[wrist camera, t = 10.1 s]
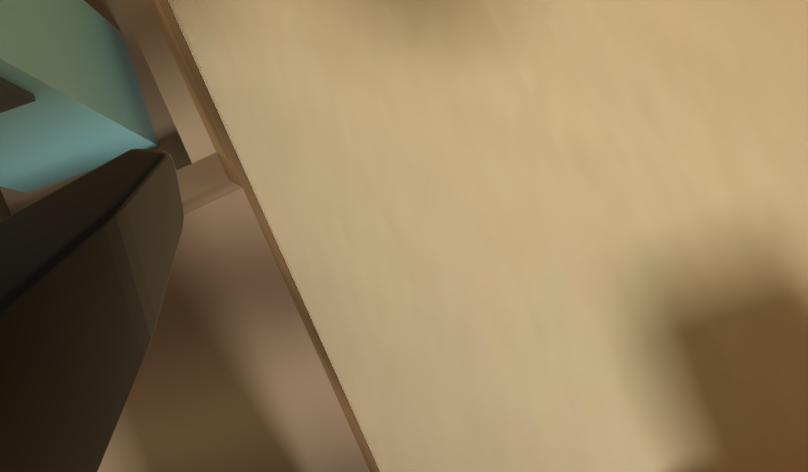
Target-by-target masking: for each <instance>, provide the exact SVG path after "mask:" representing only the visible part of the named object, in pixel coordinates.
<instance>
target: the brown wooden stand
mask: <svg viewBox="0 0 808 472" xmlns="http://www.w3.org/2000/svg"><path fill="white" fill-rule="evenodd" d="M84 1H85V2H87V3H88V4H89V5H90V6H91V7H92V8H94V9H95V10H96V11H97V12H98V13H99V14H101V15H102V16H103V17H104V18H105V19H106V20H108V21H109V22H110V23H111V24H112V25H113V26H115V27H116V28H117V29H118V30H119V31H120V32H121V33H123V37H124V40H125V43H126V46H127V49H128V52H129V55H130V58H131V61H132V64H133V67H134V70H135V73H136V76H137V79H138V83H139V86H140V89H141V92H142V95H143V98H144V101H145V104H146V107H147V110H148V113H149V116H150V119H151V122H152V126H153V129H154V132H155V135H156V138H157V141H158V144H159V147H156V148H153V149H150V150H160V151H166V152H167V153H169V154H170V155H171V157H172V159H173V161H174V164H175V168H176V173H177V178H178V184H179V189H180V194H181V199H182V204H183V209H184V223H183V229H182V233H181V237H180V240H179V244H178V248H177V251H176V255H175V258H174V262H173V266H172V269H171V273H170V276H169V280H168V284H167V287H166V291H165V295H164V298H163V302H162V305H161V309H160V313H159V316H158V320H157V323H156V327H155V330H154V333H153V336H152V340H151V342H150V345H149V348H148V350H147V353H146V356H145V358H144V361H143V363H142V366H141V368H140V370H139V373H138V375H137V378H136V380H135V382H134V385H133V387H132V390H131V392H130V394H129V397H128V399H127V402H126V404H125V406H124V409H123V411H122V414H121V416H120V418H119V421H118V423H117V426H116V428H115V430H114V433H113V435H112V438H111V440H110V442H109V445H108V447H107V450H106V452H105V454H104V457H103V459H102V462H101V464H100V467H99V469H98V471H97V472H379V470H378V467H377V465H376V463H375V461H374V458H373V456H372V454H371V452H370V450H369V447H368V445H367V443H366V441H365V438H364V436H363V434H362V432H361V430H360V427H359V425H358V423H357V421H356V418H355V416H354V414H353V412H352V410H351V407H350V405H349V403H348V401H347V398H346V396H345V394H344V392H343V390H342V387H341V385H340V383H339V381H338V379H337V376H336V374H335V372H334V370H333V367H332V365H331V363H330V361H329V359H328V356H327V354H326V352H325V350H324V347H323V345H322V343H321V341H320V339H319V336H318V334H317V332H316V330H315V327H314V325H313V323H312V321H311V319H310V316H309V314H308V312H307V310H306V307H305V305H304V303H303V301H302V299H301V296H300V294H299V292H298V290H297V287H296V285H295V283H294V281H293V279H292V276H291V274H290V272H289V270H288V267H287V265H286V263H285V261H284V259H283V256H282V254H281V252H280V250H279V247H278V245H277V243H276V241H275V239H274V236H273V234H272V232H271V230H270V227H269V225H268V223H267V221H266V219H265V216H264V214H263V212H262V210H261V207H260V205H259V203H258V201H257V199H256V196H255V194H254V192H253V190H252V187H251V185H250V183H249V181H248V179H247V176H246V174H245V172H244V170H243V167H242V165H241V163H240V161H239V159H238V156H237V154H236V152H235V150H234V147H233V145H232V143H231V141H230V139H229V136H228V134H227V132H226V130H225V127H224V125H223V123H222V121H221V119H220V116H219V114H218V112H217V110H216V107H215V105H214V103H213V101H212V99H211V96H210V94H209V92H208V90H207V88H206V85H205V83H204V81H203V79H202V76H201V74H200V72H199V70H198V68H197V65H196V63H195V61H194V59H193V56H192V54H191V52H190V50H189V48H188V45H187V43H186V41H185V39H184V36H183V34H182V32H181V30H180V28H179V25H178V23H177V21H176V19H175V16H174V14H173V12H172V10H171V8H170V5H169V3H168V1H167V0H84ZM93 170H94V169H93ZM90 171H92V170H90ZM90 171H87V172H84V173H82V174H79V175H76V176H73V177H70V178H67V179H64V180H62V181H59V182H56V183H53V184H50V185H47V186H44V187H42V188H39V189H36V190H33V191H30V192H27V193H25V192H21V191H17V190H13V189H9V188H5V187H1V186H0V221H1V220H3V219H5V218H7V217H8V216H10V215H12V214H14V213H16V212H17V211H19V210H21V209H23V208H25V207H27V206H28V205H30V204H32V203H34V202H36V201H37V200H39V199H41V198H43V197H45V196H47V195H48V194H50V193H52V192H54V191H56V190H57V189H59V188H61V187H63V186H65V185H67V184H68V183H70V182H72V181H74V180H76V179H77V178H79V177H81V176H83V175H85V174H87V173H88V172H90Z"/></svg>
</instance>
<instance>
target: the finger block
mask: <svg viewBox="0 0 808 472" xmlns="http://www.w3.org/2000/svg"><path fill="white" fill-rule="evenodd" d="M156 147H159V144H158V141H157V138H156V135H155V132H154V129H153V126H152V122H151V119H150V116H149V113H148V110H147V107H146V104H145V101H144V98H143V95H142V92H141V89H140V86H139V83H138V79H137V76H136V73H135V70H134V67H133V64H132V61H131V58H130V55H129V52H128V49H127V46H126V43H125V40H124V37H123V33H121V32H120V31H119V30H118V29H117V28H116V27H115V26H113V25H112V24H111V23H110V22H109V21H108V20H106V19H105V18H104V17H103V16H102V15H101V14H99V13H98V12H97V11H96V10H95V9H94V8H92V7H91V6H90V5H89V4H88V3H87V2H85V1H84V0H0V186H1V187H5V188H9V189H13V190H17V191H21V192H25V193H27V192H30V191H33V190H36V189H39V188H42V187H44V186H47V185H50V184H53V183H56V182H59V181H62V180H64V179H67V178H70V177H73V176H76V175H79V174H82V173H84V172H87V171H90V170H93V169H96V168H97V167H99V166H101V165H103V164H105V163H107V162H108V161H110V160H112V159H114V158H116V157H117V156H119V155H121V154H123V153H125V152H127V151H129V150H131V149H149V150H150V149H153V148H156Z"/></svg>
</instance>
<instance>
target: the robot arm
mask: <svg viewBox="0 0 808 472" xmlns="http://www.w3.org/2000/svg"><path fill="white" fill-rule="evenodd" d="M183 223H184V209H183V204H182V199H181V194H180V189H179V184H178V178H177V173H176V168H175V164H174V161H173V159H172V157H171V155H170V154H169V153H167V152H166V151H160V150H149V149H131V150H129V151H127V152H125V153H123V154H121V155H119V156H117V157H116V158H114V159H112V160H110V161H108V162H107V163H105V164H103V165H101V166H99V167H97V168H96V169H94V170H92V171H90V172H88V173H87V174H85V175H83V176H81V177H79V178H77V179H76V180H74V181H72V182H70V183H68V184H67V185H65V186H63V187H61V188H59V189H57V190H56V191H54V192H52V193H50V194H48V195H47V196H45V197H43V198H41V199H39V200H37V201H36V202H34V203H32V204H30V205H28V206H27V207H25V208H23V209H21V210H19V211H17V212H16V213H14V214H12V215H10V216H8V217H7V218H5V219H3V220H1V221H0V472H97V471H98V469H99V467H100V464H101V462H102V459H103V457H104V454H105V452H106V450H107V447H108V445H109V442H110V440H111V438H112V435H113V433H114V430H115V428H116V426H117V423H118V421H119V418H120V416H121V414H122V411H123V409H124V406H125V404H126V402H127V399H128V397H129V394H130V392H131V390H132V387H133V385H134V382H135V380H136V378H137V375H138V373H139V370H140V368H141V366H142V363H143V361H144V358H145V356H146V353H147V350H148V348H149V345H150V342H151V340H152V336H153V333H154V330H155V327H156V323H157V320H158V316H159V313H160V309H161V305H162V302H163V298H164V295H165V291H166V287H167V284H168V280H169V276H170V273H171V269H172V266H173V262H174V258H175V255H176V251H177V248H178V244H179V240H180V237H181V233H182V229H183Z"/></svg>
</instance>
